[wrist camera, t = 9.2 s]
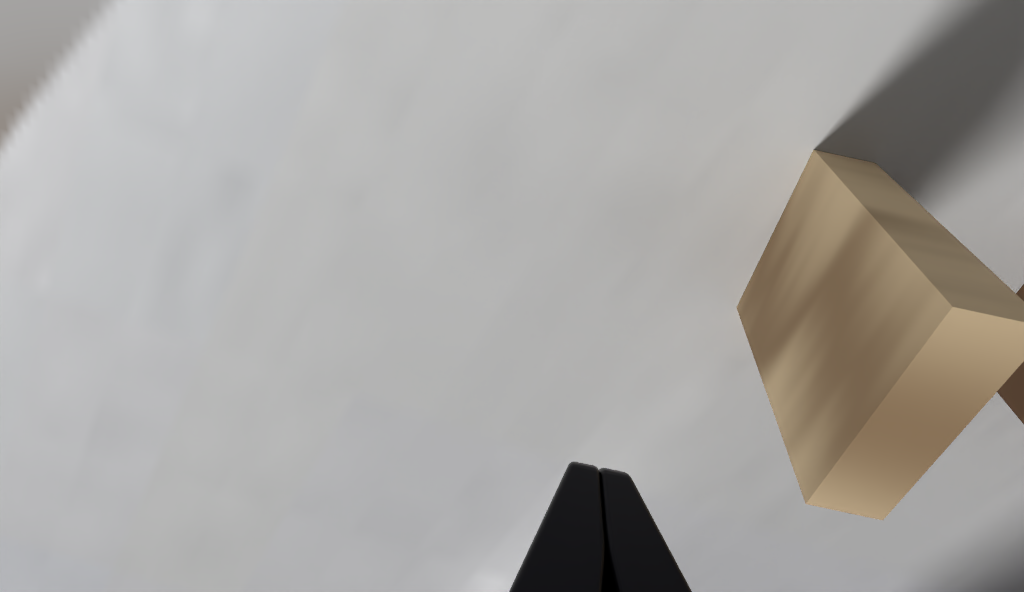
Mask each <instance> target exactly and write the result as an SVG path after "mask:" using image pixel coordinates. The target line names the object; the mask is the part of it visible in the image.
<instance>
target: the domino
mask: <svg viewBox="0 0 1024 592" xmlns="http://www.w3.org/2000/svg"><path fill="white" fill-rule="evenodd" d="M1016 294H1017V295H1018V296H1019V297H1020V298H1021V299H1022V300H1023V301H1024V284H1023V286H1022V287H1021V288H1020V289H1019V291H1018V292H1017V293H1016ZM997 392H998V394H999V395H1000V396H1001V397H1002V398H1003V400H1004V401H1005V402H1006V403H1007V404H1008V406H1009V407H1010V408H1011V409H1012V411H1013V412H1014V413H1015V414H1016V415H1017V417H1018V418H1019V419H1020V420H1021V421H1022V423H1023V424H1024V362H1023V363H1022V364H1021V365H1020V366H1019V367H1018V368H1017V369H1016V371H1015V372H1014V373H1013V374H1012V375H1011V376H1010V377H1009V378H1008V380H1007V381H1006V382H1005V383H1004V384H1003V385H1002V386H1001V388H1000V389H999V390H998V391H997Z"/></svg>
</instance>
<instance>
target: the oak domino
mask: <svg viewBox="0 0 1024 592" xmlns="http://www.w3.org/2000/svg"><path fill="white" fill-rule="evenodd" d="M737 310H738V313H739V316H740V319H741V321H742V324H743V327H744V330H745V333H746V336H747V338H748V341H749V344H750V347H751V350H752V353H753V355H754V358H755V361H756V364H757V367H758V370H759V373H760V375H761V378H762V381H763V384H764V387H765V390H766V392H767V395H768V398H769V401H770V404H771V407H772V409H773V412H774V415H775V418H776V421H777V424H778V426H779V429H780V432H781V435H782V438H783V441H784V443H785V446H786V449H787V452H788V455H789V458H790V460H791V463H792V466H793V469H794V472H795V475H796V477H797V480H798V483H799V486H800V489H801V492H802V494H803V497H804V500H805V503H806V504H809V505H813V506H818V507H823V508H828V509H832V510H837V511H842V512H846V513H851V514H856V515H861V516H865V517H870V518H875V519H879V520H883V519H884V518H885V517H886V516H887V515H888V514H889V513H890V512H891V510H892V509H893V508H894V507H895V506H896V505H897V504H898V503H899V501H900V500H901V499H902V498H903V497H904V496H905V495H906V494H907V492H908V491H909V490H910V489H911V488H912V487H913V486H914V485H915V483H916V482H917V481H918V480H919V479H920V478H921V477H922V475H923V474H924V473H925V472H926V471H927V470H928V469H929V468H930V466H931V465H932V464H933V463H934V462H935V461H936V460H937V459H938V457H939V456H940V455H941V454H942V453H943V452H944V451H945V450H946V448H947V447H948V446H949V445H950V444H951V443H952V442H953V441H954V439H955V438H956V437H957V436H958V435H959V434H960V433H961V432H962V430H963V429H964V428H965V427H966V426H967V425H968V424H969V422H970V421H971V420H972V419H973V418H974V417H975V416H976V415H977V413H978V412H979V411H980V410H981V409H982V408H983V407H984V406H985V404H986V403H987V402H988V401H989V400H990V399H991V398H992V397H993V395H994V394H995V393H996V392H997V391H998V390H999V389H1000V388H1001V386H1002V385H1003V384H1004V383H1005V382H1006V381H1007V380H1008V378H1009V377H1010V376H1011V375H1012V374H1013V373H1014V372H1015V371H1016V369H1017V368H1018V367H1019V366H1020V365H1021V364H1022V363H1023V362H1024V301H1023V300H1022V299H1021V298H1020V297H1019V296H1018V295H1017V294H1015V293H1014V292H1013V291H1012V290H1011V289H1010V288H1009V287H1008V286H1007V285H1006V284H1005V283H1004V282H1003V281H1001V280H1000V279H999V278H998V277H997V276H996V275H995V274H994V273H993V272H992V271H991V270H990V269H989V268H988V267H986V266H985V265H984V264H983V263H982V262H981V261H980V260H979V259H978V258H977V257H976V256H975V255H974V254H972V253H971V252H970V251H969V250H968V249H967V248H966V247H965V246H964V245H963V244H962V243H961V242H960V241H959V240H957V239H956V238H955V237H954V236H953V235H952V234H951V233H950V232H949V231H948V230H947V229H946V228H945V227H944V226H942V225H941V224H940V223H939V222H938V221H937V220H936V219H935V218H934V217H933V216H932V215H931V214H930V213H928V212H927V211H926V210H925V209H924V208H923V207H922V206H921V205H920V204H919V203H918V202H917V201H916V200H915V199H913V198H912V197H911V196H910V195H909V194H908V193H907V192H906V191H905V190H904V189H903V188H902V187H901V186H900V185H898V184H897V183H896V182H895V181H894V180H893V179H892V178H891V177H890V176H889V175H888V174H887V173H886V172H884V171H883V170H882V169H881V168H880V167H879V166H878V165H877V164H876V163H873V162H868V161H863V160H859V159H854V158H850V157H845V156H840V155H836V154H831V153H826V152H822V151H817V150H813V152H812V154H811V156H810V158H809V161H808V163H807V165H806V167H805V169H804V171H803V173H802V175H801V177H800V179H799V181H798V183H797V185H796V187H795V189H794V191H793V193H792V195H791V197H790V199H789V201H788V203H787V206H786V208H785V210H784V212H783V214H782V216H781V218H780V220H779V222H778V224H777V226H776V228H775V230H774V232H773V234H772V236H771V238H770V240H769V242H768V244H767V246H766V248H765V251H764V253H763V255H762V257H761V259H760V261H759V263H758V265H757V267H756V269H755V271H754V273H753V275H752V277H751V279H750V281H749V283H748V285H747V287H746V289H745V291H744V293H743V296H742V298H741V300H740V302H739V304H738V306H737Z"/></svg>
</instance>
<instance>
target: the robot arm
mask: <svg viewBox="0 0 1024 592" xmlns="http://www.w3.org/2000/svg"><path fill="white" fill-rule="evenodd" d="M509 592H692V591H691V589H690V588H689V586H688V584H687V582H686V580H685V578H684V576H683V574H682V572H681V571H680V569H679V567H678V565H677V563H676V561H675V559H674V557H673V556H672V554H671V552H670V550H669V548H668V546H667V544H666V542H665V541H664V539H663V537H662V535H661V533H660V531H659V529H658V527H657V525H656V524H655V522H654V520H653V518H652V516H651V514H650V512H649V510H648V509H647V507H646V505H645V503H644V501H643V499H642V497H641V495H640V493H639V492H638V490H637V488H636V486H635V484H634V482H633V480H632V479H631V477H630V476H629V475H628V474H627V473H625V472H621V471H617V470H612V469H607V468H601V469H600V470H598V468H597V467H596V466H593V465H588V464H583V463H579V462H571V463H570V464H569V465H568V467H567V469H566V472H565V474H564V476H563V478H562V480H561V482H560V484H559V487H558V489H557V491H556V493H555V495H554V497H553V499H552V501H551V504H550V506H549V508H548V510H547V512H546V514H545V516H544V519H543V521H542V523H541V525H540V527H539V529H538V531H537V534H536V536H535V538H534V540H533V542H532V544H531V546H530V548H529V551H528V553H527V555H526V557H525V559H524V561H523V563H522V566H521V568H520V570H519V572H518V574H517V576H516V578H515V580H514V583H513V585H512V587H511V589H510V591H509Z"/></svg>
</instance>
